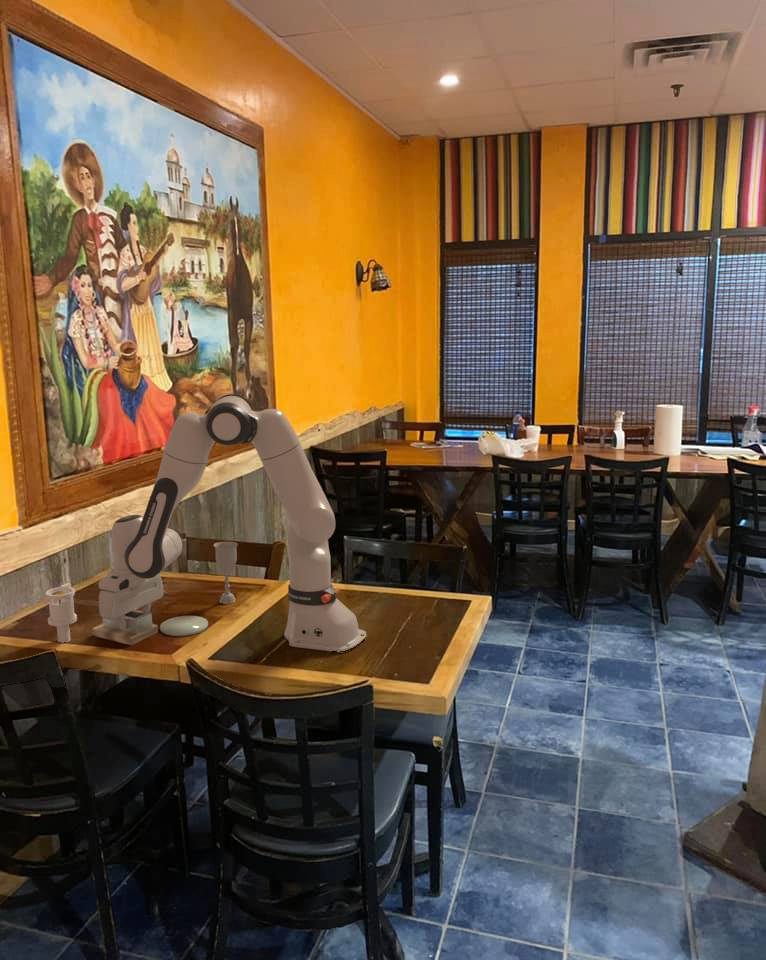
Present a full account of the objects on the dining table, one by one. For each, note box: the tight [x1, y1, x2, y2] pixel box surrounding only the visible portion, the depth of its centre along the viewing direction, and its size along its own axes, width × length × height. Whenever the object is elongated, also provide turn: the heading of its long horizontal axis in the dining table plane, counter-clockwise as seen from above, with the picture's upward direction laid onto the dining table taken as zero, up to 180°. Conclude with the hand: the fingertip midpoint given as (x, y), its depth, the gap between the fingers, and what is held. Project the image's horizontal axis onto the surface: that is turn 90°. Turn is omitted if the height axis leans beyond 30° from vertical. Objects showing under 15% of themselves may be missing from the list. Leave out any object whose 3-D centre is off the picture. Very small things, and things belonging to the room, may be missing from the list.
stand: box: [91, 623, 159, 646], centre depth 206 cm, size 14×10×11 cm
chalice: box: [213, 541, 239, 605], centre depth 230 cm, size 7×7×18 cm
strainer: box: [45, 582, 78, 644], centre depth 201 cm, size 7×7×15 cm
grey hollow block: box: [102, 609, 153, 635], centre depth 206 cm, size 12×6×4 cm, turn 64°
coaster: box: [159, 615, 209, 637], centre depth 212 cm, size 13×13×1 cm
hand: (134, 623), depth 205 cm, fingers closed on grey hollow block, 6 cm apart
